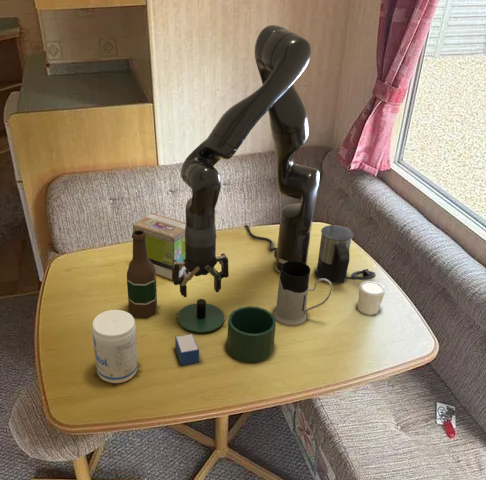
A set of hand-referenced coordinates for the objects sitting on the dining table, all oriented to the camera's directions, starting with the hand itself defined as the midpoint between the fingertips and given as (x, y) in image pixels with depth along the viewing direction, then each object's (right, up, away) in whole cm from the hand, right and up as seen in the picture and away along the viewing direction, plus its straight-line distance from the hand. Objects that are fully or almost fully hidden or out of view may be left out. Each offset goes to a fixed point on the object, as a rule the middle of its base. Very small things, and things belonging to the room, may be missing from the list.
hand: (200, 293), depth 143 cm
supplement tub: (-19, -18, -13) cm, 29 cm away
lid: (0, -7, +4) cm, 8 cm away
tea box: (-12, +7, +26) cm, 29 cm away
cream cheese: (-3, -15, -8) cm, 17 cm away
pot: (+13, -13, -5) cm, 19 cm away
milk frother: (+43, +4, +23) cm, 49 cm away
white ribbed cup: (+46, -5, +10) cm, 47 cm away
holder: (+27, -7, +6) cm, 28 cm away
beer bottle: (-16, -5, +7) cm, 18 cm away
